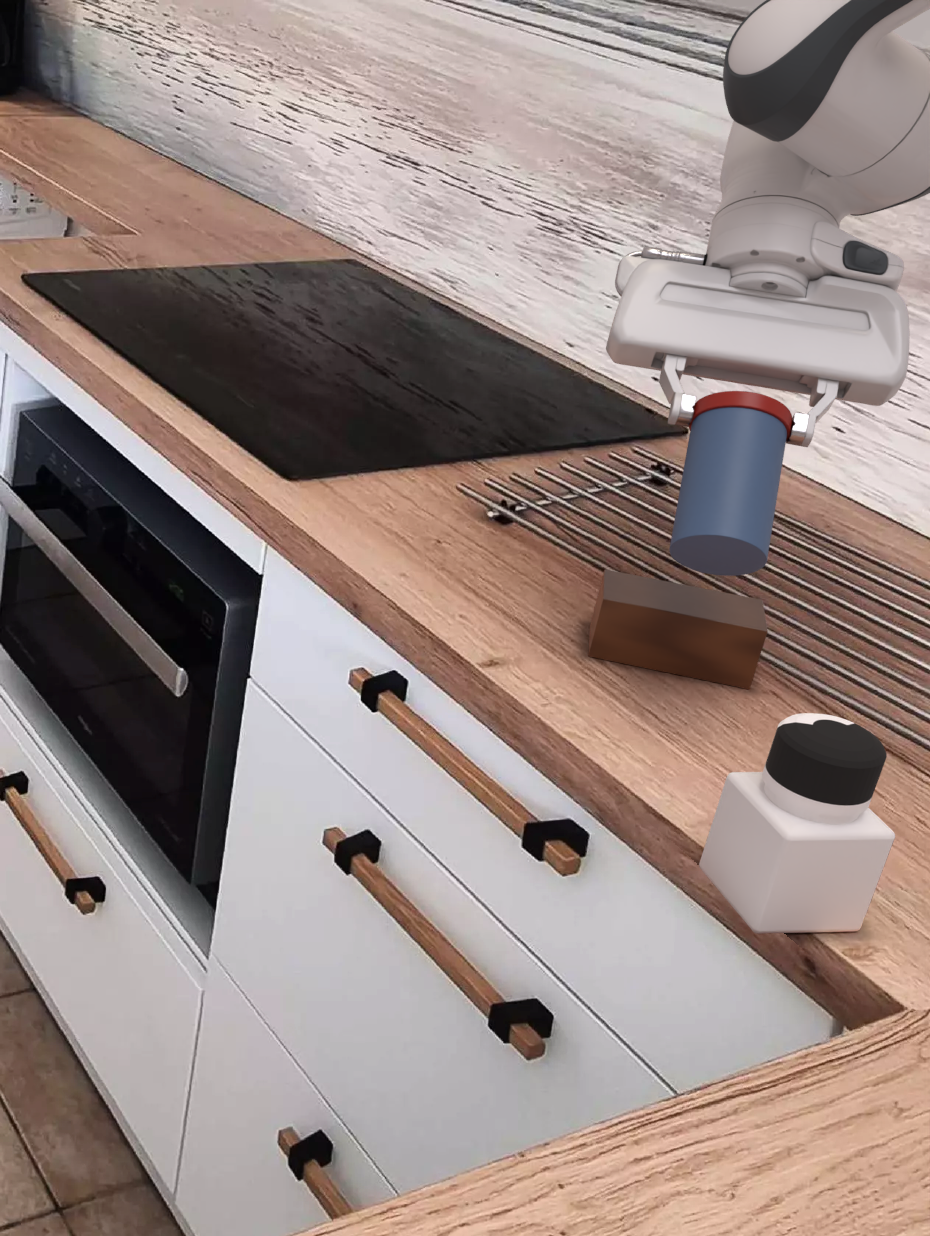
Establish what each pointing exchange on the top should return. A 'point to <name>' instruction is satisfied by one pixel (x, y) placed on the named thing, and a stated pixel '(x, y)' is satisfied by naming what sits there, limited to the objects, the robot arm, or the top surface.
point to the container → (730, 483)
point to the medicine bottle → (802, 830)
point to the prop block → (677, 629)
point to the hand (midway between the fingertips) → (739, 432)
